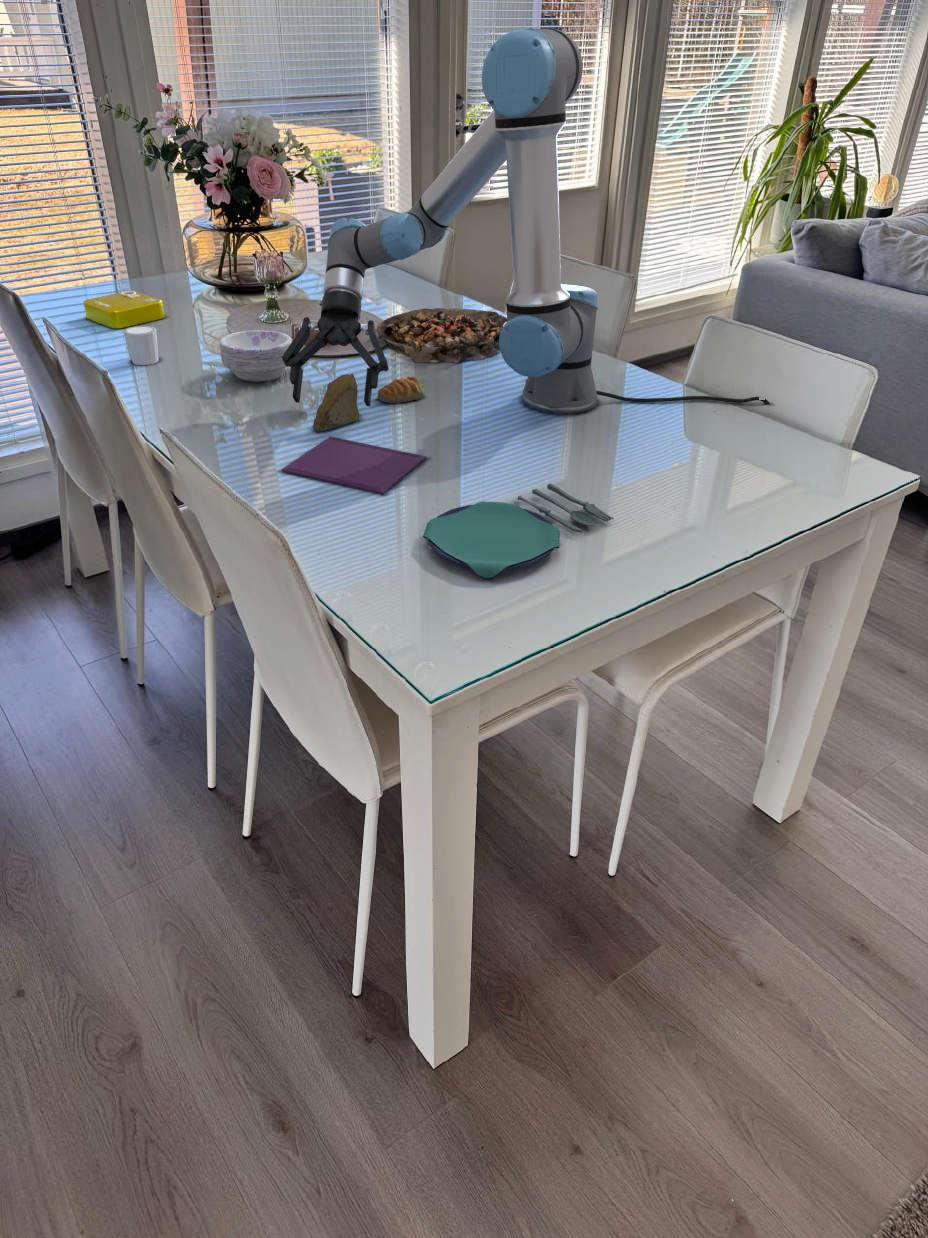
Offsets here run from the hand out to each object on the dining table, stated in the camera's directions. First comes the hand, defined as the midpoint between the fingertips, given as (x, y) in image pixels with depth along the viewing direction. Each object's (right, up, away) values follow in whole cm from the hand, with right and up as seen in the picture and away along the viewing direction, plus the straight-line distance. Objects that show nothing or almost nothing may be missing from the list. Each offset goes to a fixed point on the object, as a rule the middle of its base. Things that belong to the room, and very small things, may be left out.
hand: (331, 401), depth 168 cm
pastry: (+12, +5, +16) cm, 21 cm away
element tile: (-61, +36, +59) cm, 93 cm away
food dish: (+21, +27, +48) cm, 59 cm away
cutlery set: (+33, -28, -31) cm, 54 cm away
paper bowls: (-20, +12, +26) cm, 35 cm away
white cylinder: (-47, +17, +32) cm, 59 cm away
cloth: (+6, -14, -11) cm, 19 cm away
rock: (0, -3, +4) cm, 6 cm away
